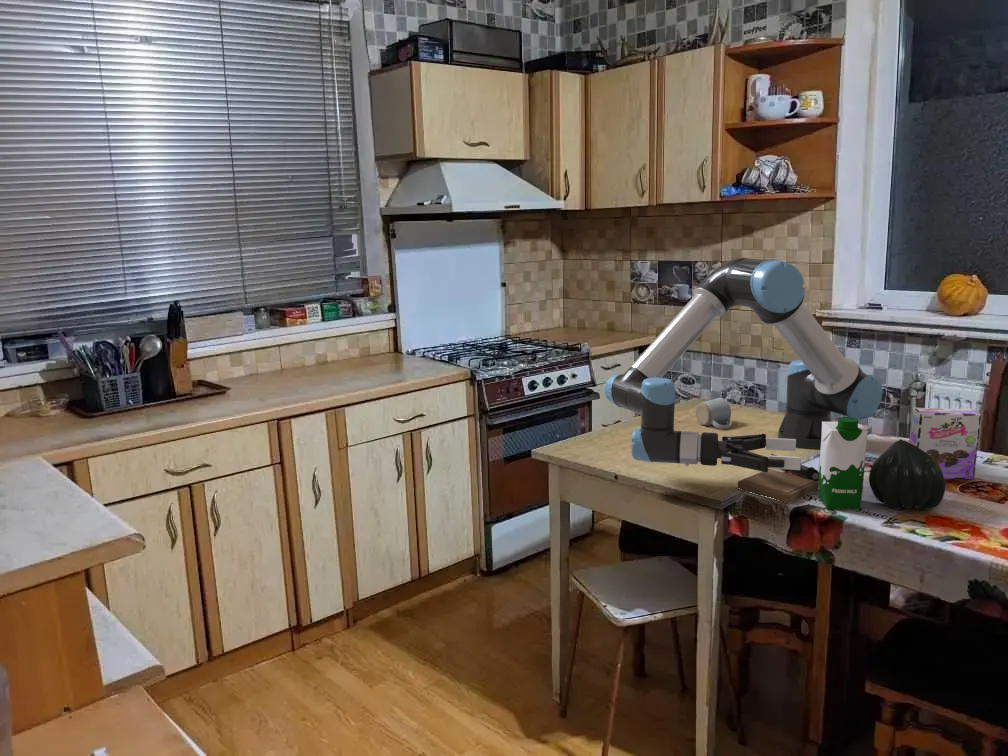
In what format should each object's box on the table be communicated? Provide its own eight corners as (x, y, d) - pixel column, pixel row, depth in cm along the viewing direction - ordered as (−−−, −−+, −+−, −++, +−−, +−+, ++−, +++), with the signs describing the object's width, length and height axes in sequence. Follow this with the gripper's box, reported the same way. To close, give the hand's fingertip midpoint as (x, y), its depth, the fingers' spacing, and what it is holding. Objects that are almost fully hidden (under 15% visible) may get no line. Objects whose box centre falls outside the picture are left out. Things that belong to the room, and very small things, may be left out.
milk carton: (824, 510, 181) (830, 422, 177) (813, 496, 190) (818, 411, 185) (865, 511, 180) (873, 422, 176) (852, 496, 189) (859, 411, 185)
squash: (948, 500, 171) (946, 435, 177) (869, 494, 176) (870, 431, 183) (941, 525, 182) (940, 462, 189) (867, 518, 188) (868, 458, 195)
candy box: (913, 478, 200) (919, 412, 196) (905, 470, 205) (911, 406, 202) (974, 480, 198) (982, 413, 194) (965, 472, 204) (972, 407, 200)
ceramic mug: (693, 423, 251) (694, 398, 249) (714, 419, 255) (715, 395, 253) (717, 432, 242) (718, 406, 240) (738, 428, 246) (739, 403, 244)
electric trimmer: (777, 463, 214) (777, 452, 213) (822, 481, 200) (823, 468, 200) (765, 466, 213) (766, 454, 212) (810, 483, 199) (811, 471, 198)
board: (768, 476, 203) (769, 467, 203) (818, 490, 193) (818, 480, 193) (737, 489, 195) (738, 480, 194) (787, 504, 185) (788, 494, 185)
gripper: (701, 448, 203) (792, 453, 197) (697, 482, 179) (801, 489, 174) (702, 418, 201) (794, 423, 196) (698, 448, 178) (803, 454, 172)
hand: (798, 454), depth 185 cm, fingers open, 13 cm apart
